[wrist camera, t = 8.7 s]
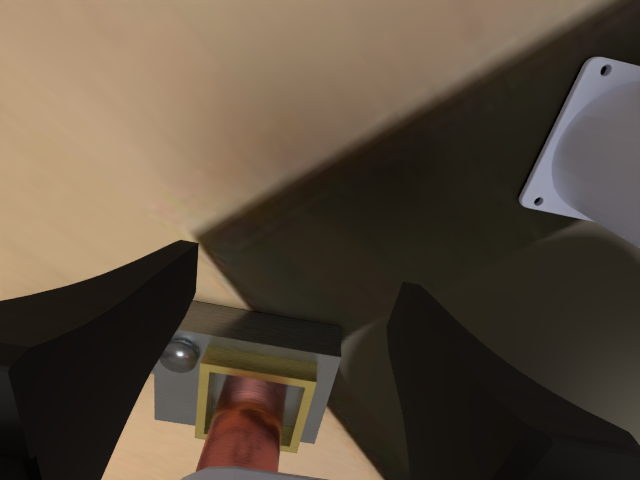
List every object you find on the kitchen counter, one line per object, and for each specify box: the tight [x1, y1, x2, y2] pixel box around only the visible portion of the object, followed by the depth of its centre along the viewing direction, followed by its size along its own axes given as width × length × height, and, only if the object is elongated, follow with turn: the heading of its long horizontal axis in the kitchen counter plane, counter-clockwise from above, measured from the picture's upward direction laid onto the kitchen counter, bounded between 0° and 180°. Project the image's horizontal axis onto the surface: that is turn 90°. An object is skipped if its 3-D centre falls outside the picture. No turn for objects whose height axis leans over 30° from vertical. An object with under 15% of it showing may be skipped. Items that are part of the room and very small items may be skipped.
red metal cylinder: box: [196, 375, 286, 472], centre depth 21 cm, size 4×4×8 cm
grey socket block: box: [151, 301, 341, 453], centre depth 25 cm, size 14×9×4 cm, turn 78°
